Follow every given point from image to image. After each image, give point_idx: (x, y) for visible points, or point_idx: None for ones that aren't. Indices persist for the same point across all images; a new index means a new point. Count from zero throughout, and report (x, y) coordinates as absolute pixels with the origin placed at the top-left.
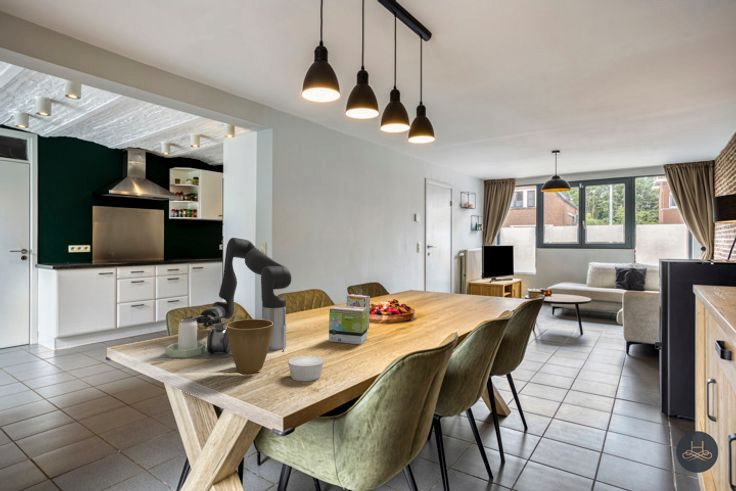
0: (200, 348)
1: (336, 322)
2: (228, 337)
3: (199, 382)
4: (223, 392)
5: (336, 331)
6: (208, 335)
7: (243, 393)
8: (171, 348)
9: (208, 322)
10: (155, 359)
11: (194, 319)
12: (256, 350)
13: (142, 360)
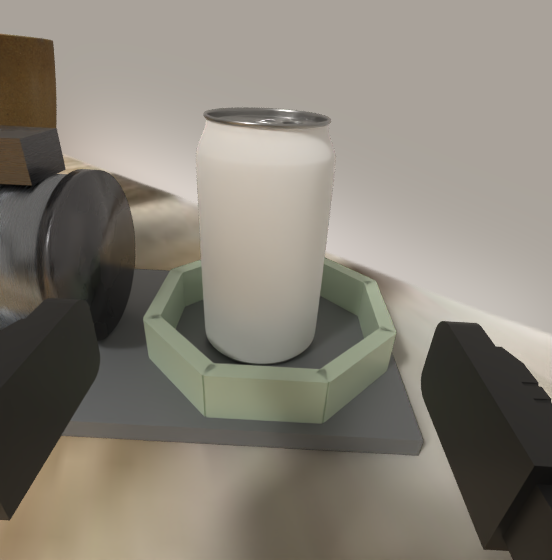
0: (174, 272)
1: None
2: (55, 85)
3: (158, 192)
4: (108, 172)
5: None
6: (117, 187)
7: (71, 169)
8: (369, 325)
9: (74, 308)
10: (391, 306)
11: (226, 119)
12: None
13: (439, 300)
